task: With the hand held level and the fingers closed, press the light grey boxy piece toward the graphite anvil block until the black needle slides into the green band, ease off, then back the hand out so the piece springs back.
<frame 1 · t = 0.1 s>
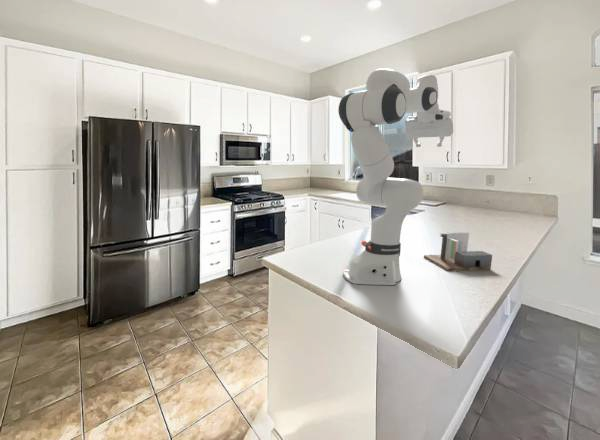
hand: (428, 146, 144), 52 cm above the counter, fingers open, 8 cm apart
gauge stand: (463, 263, 144), on the counter
light grey boxy piece: (459, 247, 143), point 8 cm above the counter, slide at 0.0 cm
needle: (443, 246, 145), point 7 cm above the counter, slide at 0.0 cm
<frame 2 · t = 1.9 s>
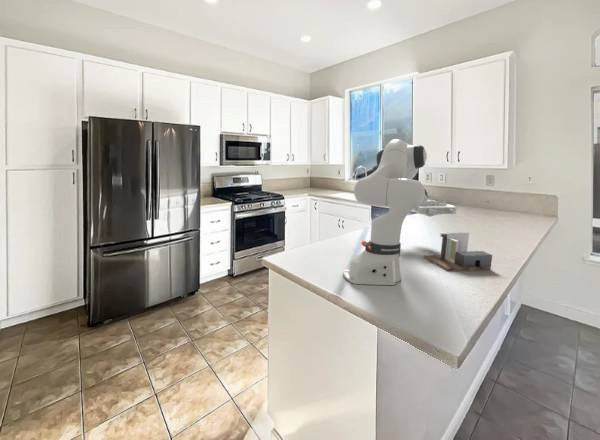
hand: (444, 212, 158), 21 cm above the counter, fingers open, 7 cm apart
nothing on the counter moved.
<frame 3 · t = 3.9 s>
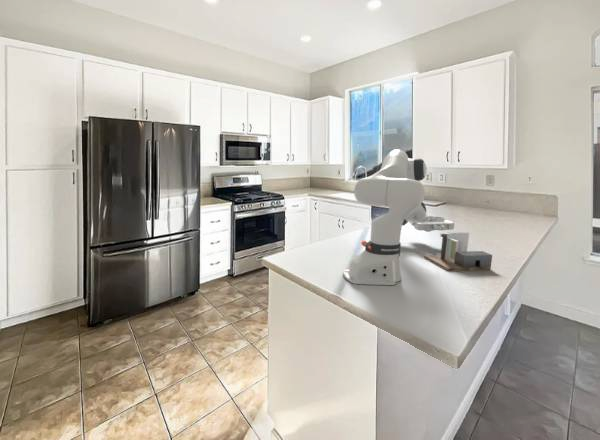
hand: (442, 228, 160), 12 cm above the counter, fingers closed
nothing on the counter moved.
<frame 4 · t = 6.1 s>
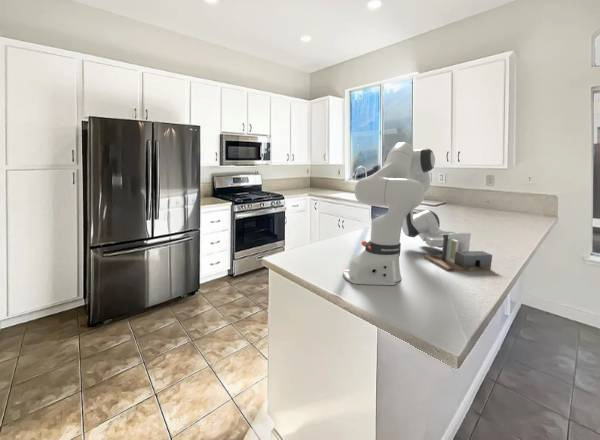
hand: (456, 245, 148), 7 cm above the counter, fingers closed, pressing on light grey boxy piece
light grey boxy piece: (460, 247, 142), point 7 cm above the counter, slide at 1.1 cm, touching gripper, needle
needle: (444, 247, 144), point 7 cm above the counter, slide at 0.8 cm, touching light grey boxy piece
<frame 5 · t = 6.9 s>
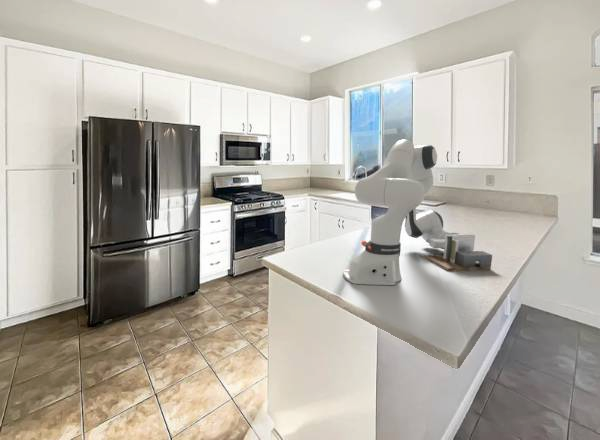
hand: (461, 247, 145), 7 cm above the counter, fingers closed, pressing on light grey boxy piece
light grey boxy piece: (465, 249, 139), point 8 cm above the counter, slide at 4.2 cm, touching gripper, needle
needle: (448, 248, 141), point 7 cm above the counter, slide at 3.9 cm, touching light grey boxy piece
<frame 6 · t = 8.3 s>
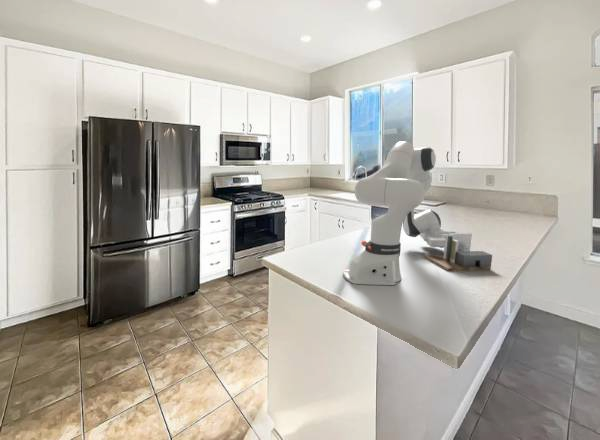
hand: (458, 245, 147), 7 cm above the counter, fingers closed, pressing on light grey boxy piece
light grey boxy piece: (462, 248, 141), point 7 cm above the counter, slide at 2.0 cm, touching gripper
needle: (448, 248, 141), point 7 cm above the counter, slide at 3.9 cm
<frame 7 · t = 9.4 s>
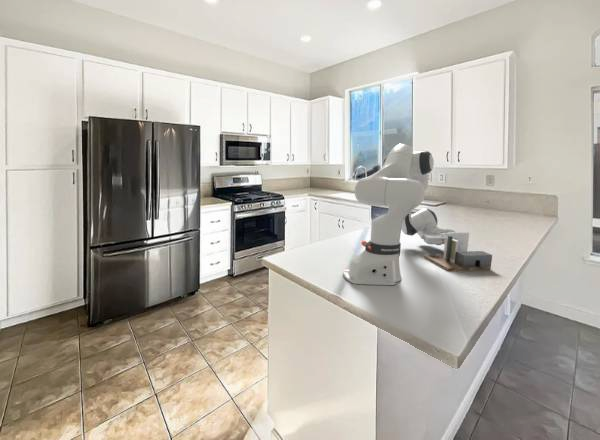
hand: (454, 243, 151), 7 cm above the counter, fingers closed
light grey boxy piece: (459, 247, 143), point 7 cm above the counter, slide at 0.1 cm
everything else where it was.
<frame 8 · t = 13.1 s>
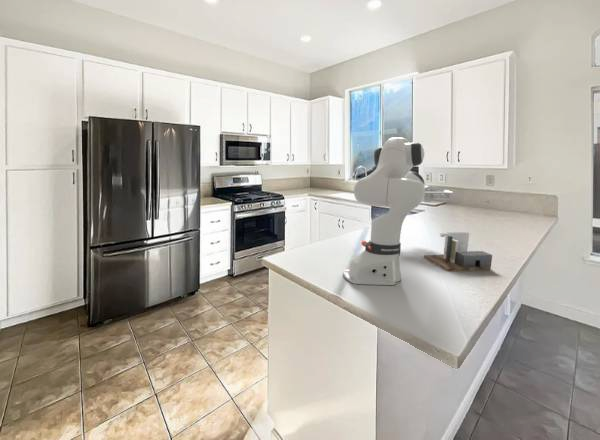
hand: (442, 196, 160), 28 cm above the counter, fingers closed
nothing on the counter moved.
at the end: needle slide at 3.9 cm; light grey boxy piece slide at 0.1 cm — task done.
